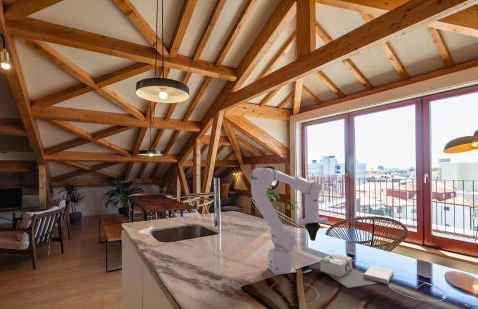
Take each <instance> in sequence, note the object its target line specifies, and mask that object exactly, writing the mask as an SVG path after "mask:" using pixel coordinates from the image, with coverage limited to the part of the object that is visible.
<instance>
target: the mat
mask: <svg viewBox="0 0 478 309" xmlns="http://www.w3.org/2000/svg"><path fill="white" fill-rule="evenodd" d="M325 274H326V275H328V276H329V277H331V278H332V279H334V280H335V281H337V282H338V283H339V284H341V285H343V287H346V288H347V289H351V288H358V287H365V286H371V285H377V284H378V282H377V281H373V280H370V279H366V278H364V277H363V273H360V272H358V271H357V270H355V269H353V268H352V270H350V271H349V272H347V273H346V274H344V275H343V276H342V277H338V276H334V275H331V274H328V273H325Z"/></svg>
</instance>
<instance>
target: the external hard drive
mask: <svg viewBox="0 0 478 309" xmlns="http://www.w3.org/2000/svg"><path fill="white" fill-rule="evenodd" d="M362 275H363V277H364V278H366V279H370V280H373V281H374V282H377V283H382V284H388V283H389V282H390V280H391V278H392V277H393V275H394V270H393V269H391V268H390V269H389V268H386V267H382V266H381V267H380V266H376V265H370V266H369V267H368V269H366V271H365V272H364V273H362Z"/></svg>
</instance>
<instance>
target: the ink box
mask: <svg viewBox="0 0 478 309" xmlns="http://www.w3.org/2000/svg"><path fill="white" fill-rule="evenodd" d="M319 261H320V262H319V265H320V266H319V268H320V269H319V271H320V272H321V273H325V274H326V273H328V274H331V275H334V276H338V277H342V276H343V275H344V274H346V273H347V272H349V271H350V270H352V269H353V258H352V257H350V256H346V255H341V254H337V253H332V254H330V255H327V256H325V257H324V258H322V259H320V260H319ZM328 274H327V275H328Z"/></svg>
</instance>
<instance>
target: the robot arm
mask: <svg viewBox="0 0 478 309" xmlns="http://www.w3.org/2000/svg"><path fill="white" fill-rule="evenodd" d="M249 181H250V187H251V188H250V189H251V190H250V193H251V196H252V198H253V199H254V201H255V204H256V205H257V207H258V209H259V211H260V212H261V214H262V216H263V218H264V219H265V221H266V223H267V225H268V227H269V229H270V230H269V234H270V238H271V241H272V243H273V246H274V247H273V248H271V249H269V250H268V253H267V254H268V259H267V260H268V266H267V269H268V270H270V271H271V272H272V273H273V275H277V276H278V275H285V274H292V273H297V270H296V269H295V268H293V249H294V247H295V245H296V238H295V236H294V235H293V234H291V232H290V231H289V230H288V229H287V228H286V227H285V226H284V225H283V222H282V221H281V220H280V217H279V215H278V213H277V211H276V209H275V207H274V206H273V204H272V202H271V200H270V198H269V197H268V194H267V192H268V189H269V188H270V186H271V185H272V183H273V182H276V181H278V182H282V183H285V184H287V185H289V186H290V188H291V189H293V190H296V191H298V192H301V193H302V194H304V215H305V217H304V218H300V219H299V218H298V219H296V220H295V224H296V225H297V226H300V225H301V226H302V225H304V227H305V228H306V229H305V230H307V232H308V236H309V240H310V241H312V242H313V241H316V238H317V235H318V231H319V229H320V227H321V224H326V223H327V224H328V223H329V219H328V217H320V215H319V198H320V194H321V193H322V187H321V186H320V185H319V183H318V182H316V181H311V180H310V179H307V178H303V176H302V175H295V176H290V175H288V174H286V173H284V172H282V171H280V170H277V169H273V168H269V167H262V168H261V167H254V168H253V169H252V170H251V172H250V176H249Z"/></svg>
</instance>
